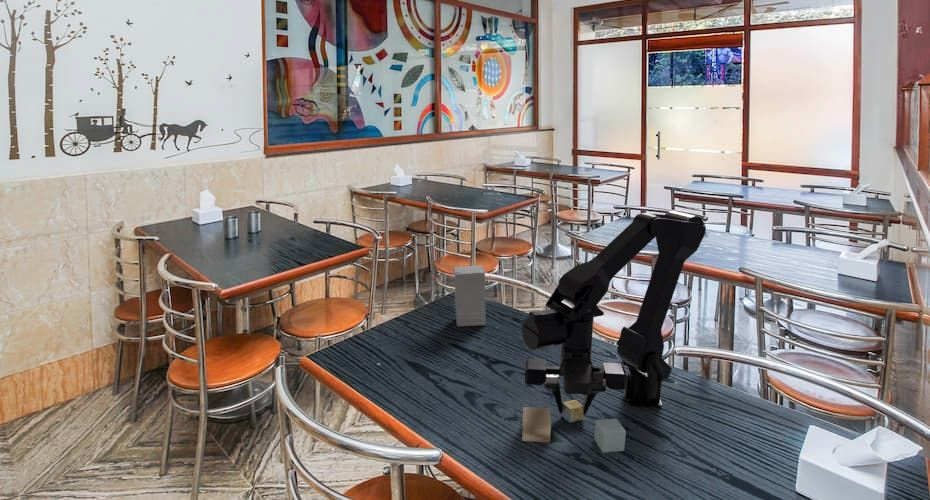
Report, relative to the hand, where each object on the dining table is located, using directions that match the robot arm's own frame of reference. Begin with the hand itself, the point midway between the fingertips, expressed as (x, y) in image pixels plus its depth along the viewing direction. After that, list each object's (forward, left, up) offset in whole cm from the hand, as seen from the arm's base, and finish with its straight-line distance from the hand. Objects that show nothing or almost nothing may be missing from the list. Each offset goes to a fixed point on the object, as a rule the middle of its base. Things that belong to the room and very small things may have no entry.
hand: (572, 413), depth 107 cm
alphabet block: (0, 0, -1) cm, 1 cm away
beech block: (+7, +6, -1) cm, 9 cm away
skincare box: (+25, -45, -1) cm, 51 cm away
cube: (-6, +8, -1) cm, 10 cm away
